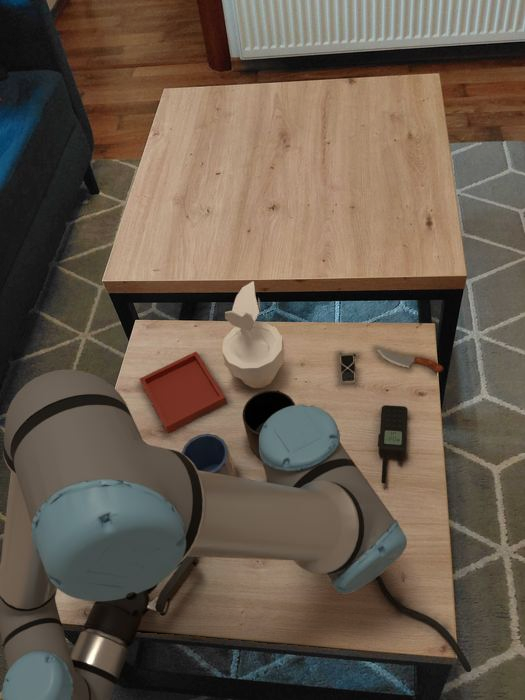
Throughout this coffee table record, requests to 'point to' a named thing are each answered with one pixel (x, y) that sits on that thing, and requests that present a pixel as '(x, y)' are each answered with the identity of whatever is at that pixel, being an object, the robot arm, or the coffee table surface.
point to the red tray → (182, 391)
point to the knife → (410, 361)
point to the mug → (262, 414)
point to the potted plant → (251, 342)
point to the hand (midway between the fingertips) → (165, 501)
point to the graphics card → (348, 368)
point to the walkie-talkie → (392, 435)
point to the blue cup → (210, 454)
